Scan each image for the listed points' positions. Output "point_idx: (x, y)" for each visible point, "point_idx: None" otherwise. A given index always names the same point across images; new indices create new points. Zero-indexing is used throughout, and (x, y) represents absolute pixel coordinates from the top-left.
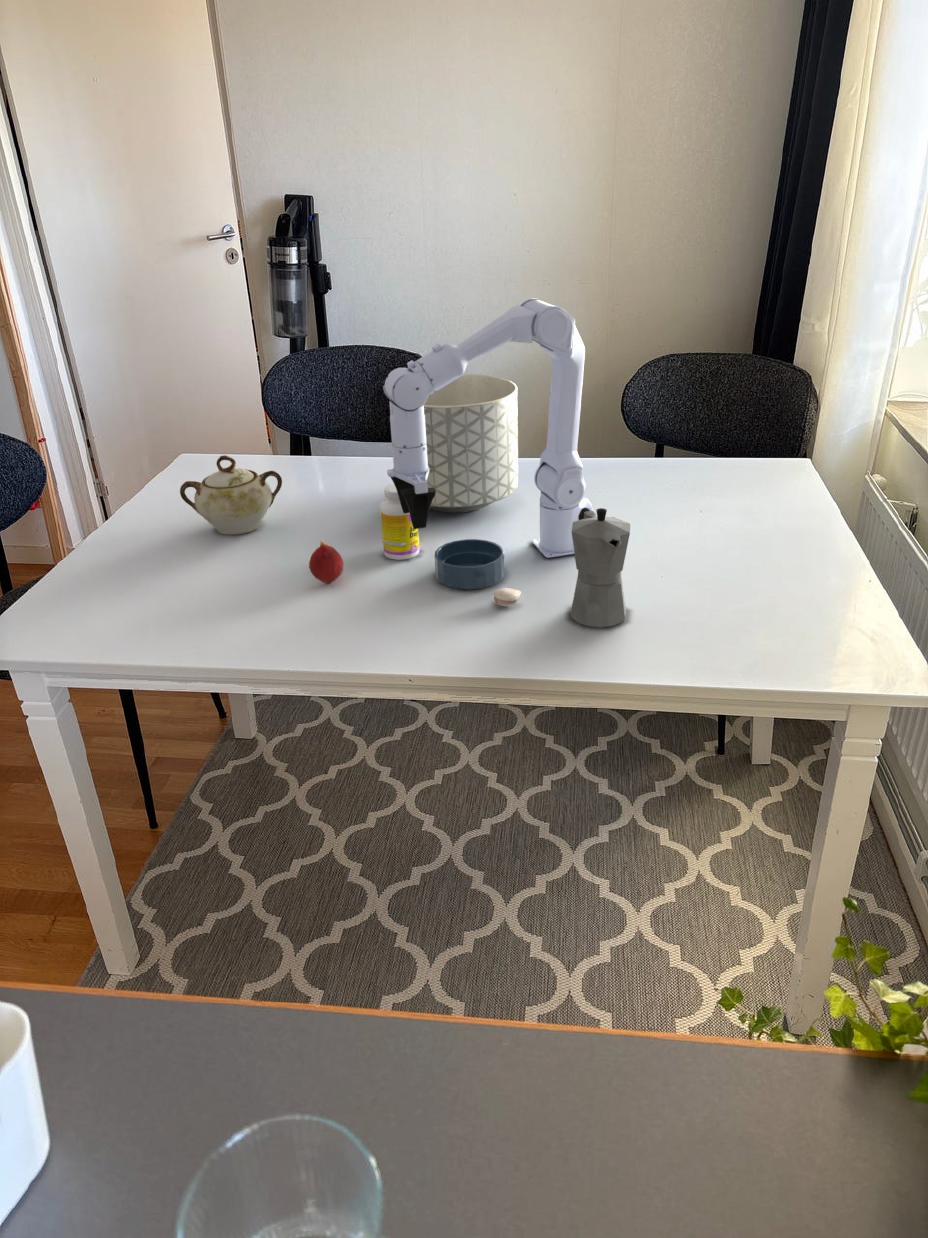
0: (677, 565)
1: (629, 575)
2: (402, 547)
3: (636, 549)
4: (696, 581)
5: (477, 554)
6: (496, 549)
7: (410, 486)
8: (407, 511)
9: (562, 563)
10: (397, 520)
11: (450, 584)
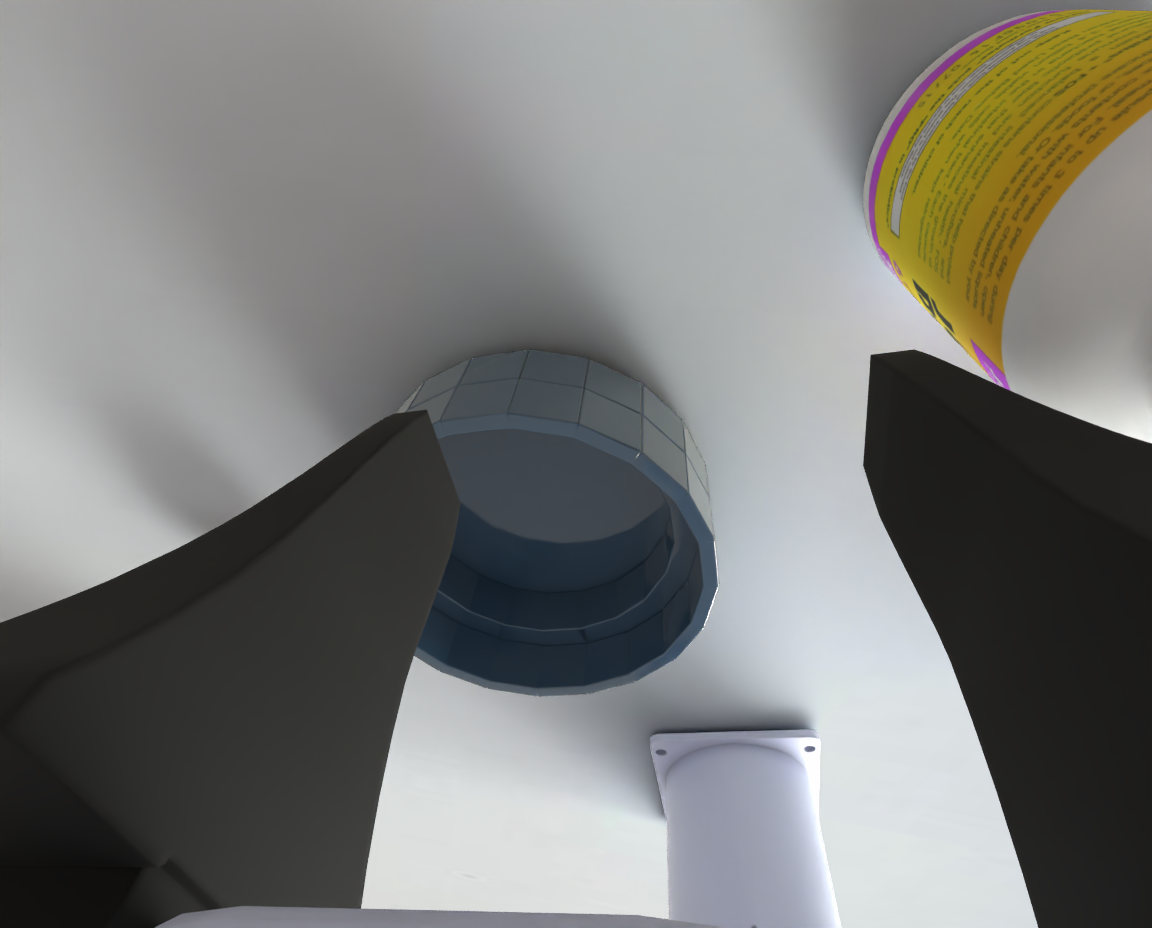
0: (532, 908)
1: (486, 839)
2: (888, 192)
3: (654, 886)
4: (438, 906)
5: (657, 575)
6: (597, 665)
7: (1012, 688)
8: (874, 400)
9: (602, 753)
10: (1000, 232)
11: (397, 411)
